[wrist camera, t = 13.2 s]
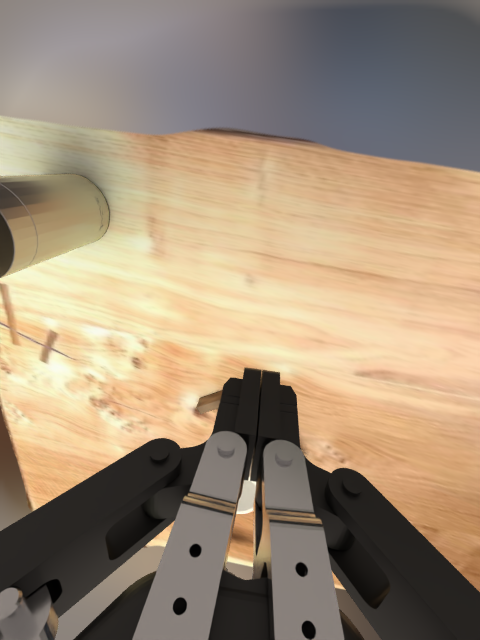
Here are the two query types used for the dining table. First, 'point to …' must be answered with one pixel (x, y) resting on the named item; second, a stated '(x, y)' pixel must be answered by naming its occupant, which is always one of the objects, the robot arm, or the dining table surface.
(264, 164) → the dining table surface
